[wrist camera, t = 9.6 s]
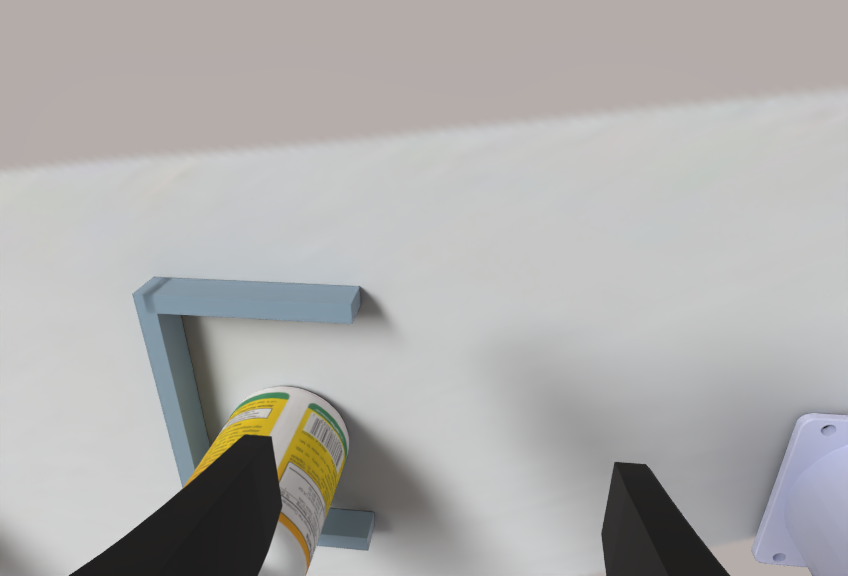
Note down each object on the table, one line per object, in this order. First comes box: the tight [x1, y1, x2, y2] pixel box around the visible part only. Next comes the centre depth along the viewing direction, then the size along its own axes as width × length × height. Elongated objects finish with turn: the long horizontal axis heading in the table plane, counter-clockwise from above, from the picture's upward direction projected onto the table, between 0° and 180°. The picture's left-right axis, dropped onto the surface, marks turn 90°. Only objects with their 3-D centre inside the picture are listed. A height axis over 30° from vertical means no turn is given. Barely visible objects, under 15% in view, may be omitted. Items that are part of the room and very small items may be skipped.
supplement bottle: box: [183, 386, 349, 576], centre depth 21 cm, size 5×5×10 cm
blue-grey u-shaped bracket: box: [133, 277, 374, 550], centre depth 25 cm, size 8×13×2 cm, turn 0°
